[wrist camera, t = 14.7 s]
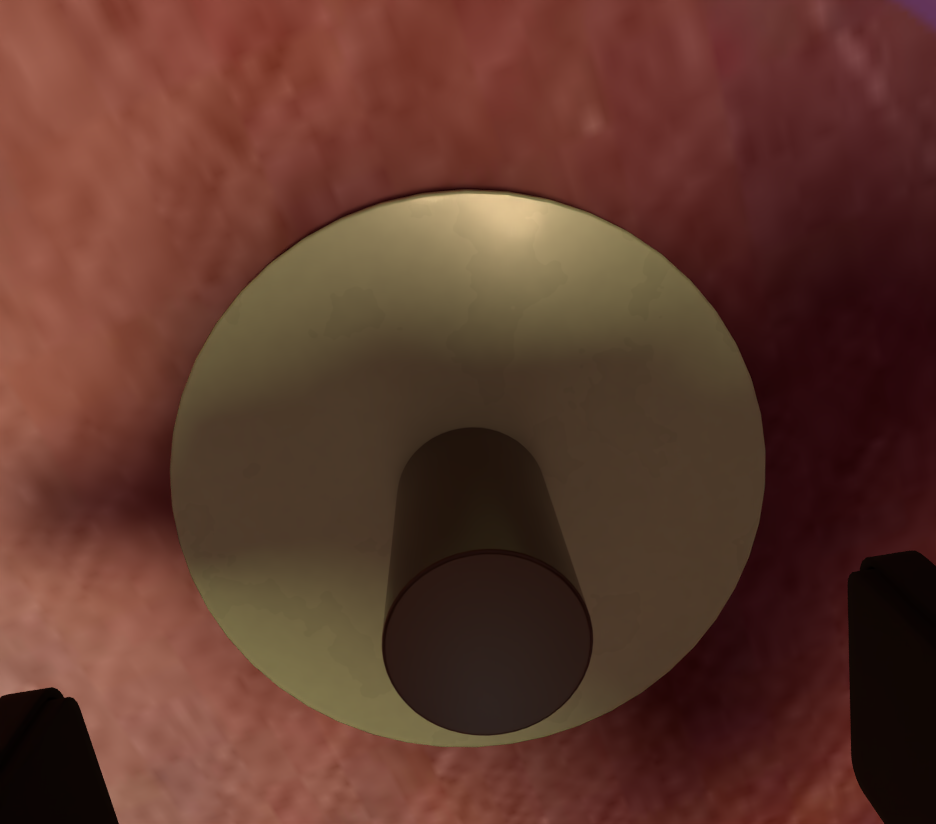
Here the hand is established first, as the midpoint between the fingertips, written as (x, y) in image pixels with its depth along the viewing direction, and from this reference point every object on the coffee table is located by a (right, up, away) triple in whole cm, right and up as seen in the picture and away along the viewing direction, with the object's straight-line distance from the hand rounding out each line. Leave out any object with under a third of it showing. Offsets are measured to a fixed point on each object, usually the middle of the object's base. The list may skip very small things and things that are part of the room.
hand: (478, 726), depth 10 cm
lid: (0, +2, +8) cm, 8 cm away
